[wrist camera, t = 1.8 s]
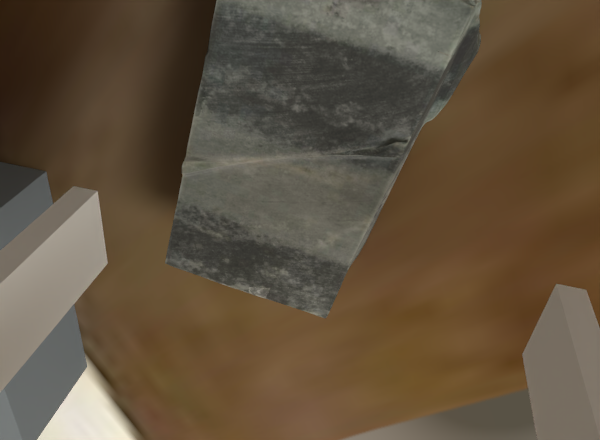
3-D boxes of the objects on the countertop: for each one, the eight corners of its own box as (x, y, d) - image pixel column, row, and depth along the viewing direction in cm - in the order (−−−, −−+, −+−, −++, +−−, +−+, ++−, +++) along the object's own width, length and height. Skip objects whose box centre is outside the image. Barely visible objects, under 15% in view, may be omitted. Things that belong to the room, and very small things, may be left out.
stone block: (504, -17, 20) (522, 20, 15) (364, 263, 28) (351, 336, 24) (273, -103, 20) (228, -90, 15) (203, 203, 28) (162, 266, 24)
